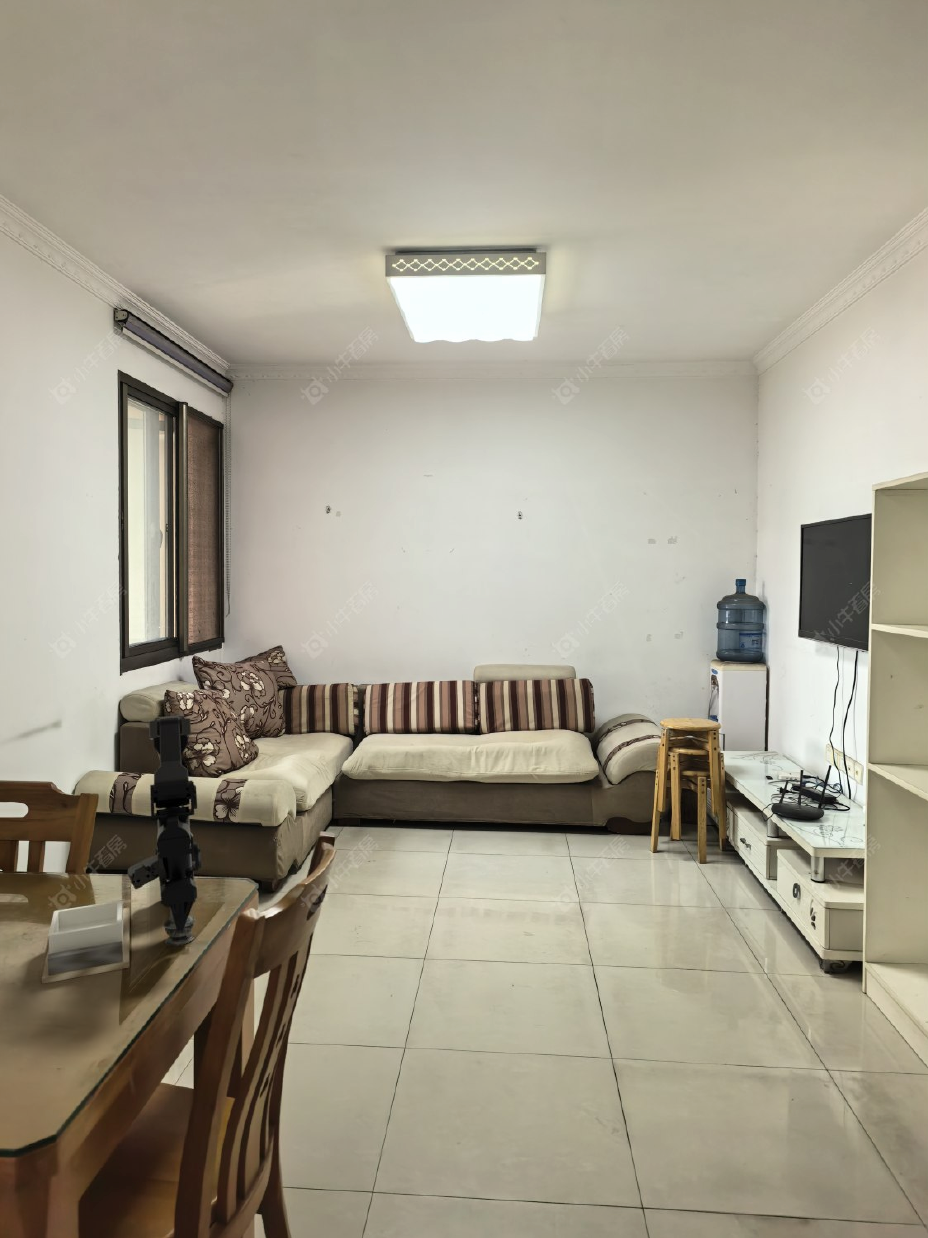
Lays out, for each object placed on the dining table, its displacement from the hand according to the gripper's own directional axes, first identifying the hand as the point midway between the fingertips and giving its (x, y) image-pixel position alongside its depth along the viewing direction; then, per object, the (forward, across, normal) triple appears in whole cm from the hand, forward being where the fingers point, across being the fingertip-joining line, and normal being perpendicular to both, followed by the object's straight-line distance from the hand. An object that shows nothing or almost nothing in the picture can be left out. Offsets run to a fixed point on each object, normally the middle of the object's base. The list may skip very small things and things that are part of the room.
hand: (178, 922), depth 160 cm
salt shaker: (+4, 0, 0) cm, 4 cm away
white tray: (+2, -2, -16) cm, 16 cm away
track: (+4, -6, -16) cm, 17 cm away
